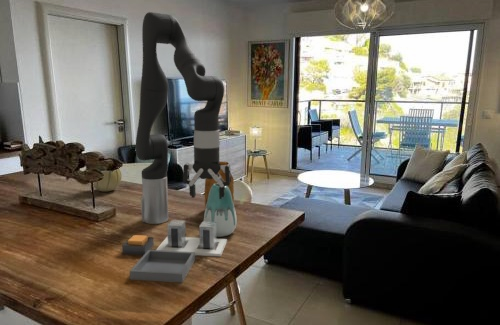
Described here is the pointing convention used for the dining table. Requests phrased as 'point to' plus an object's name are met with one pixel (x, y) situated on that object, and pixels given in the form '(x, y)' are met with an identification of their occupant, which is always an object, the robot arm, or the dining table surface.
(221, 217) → the vase
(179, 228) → the block
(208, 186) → the coffee package
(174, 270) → the tray
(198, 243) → the white slotted plate
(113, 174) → the cantaloupe
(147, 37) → the robot arm
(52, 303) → the dining table surface
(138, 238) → the button
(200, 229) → the block
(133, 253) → the button housing
